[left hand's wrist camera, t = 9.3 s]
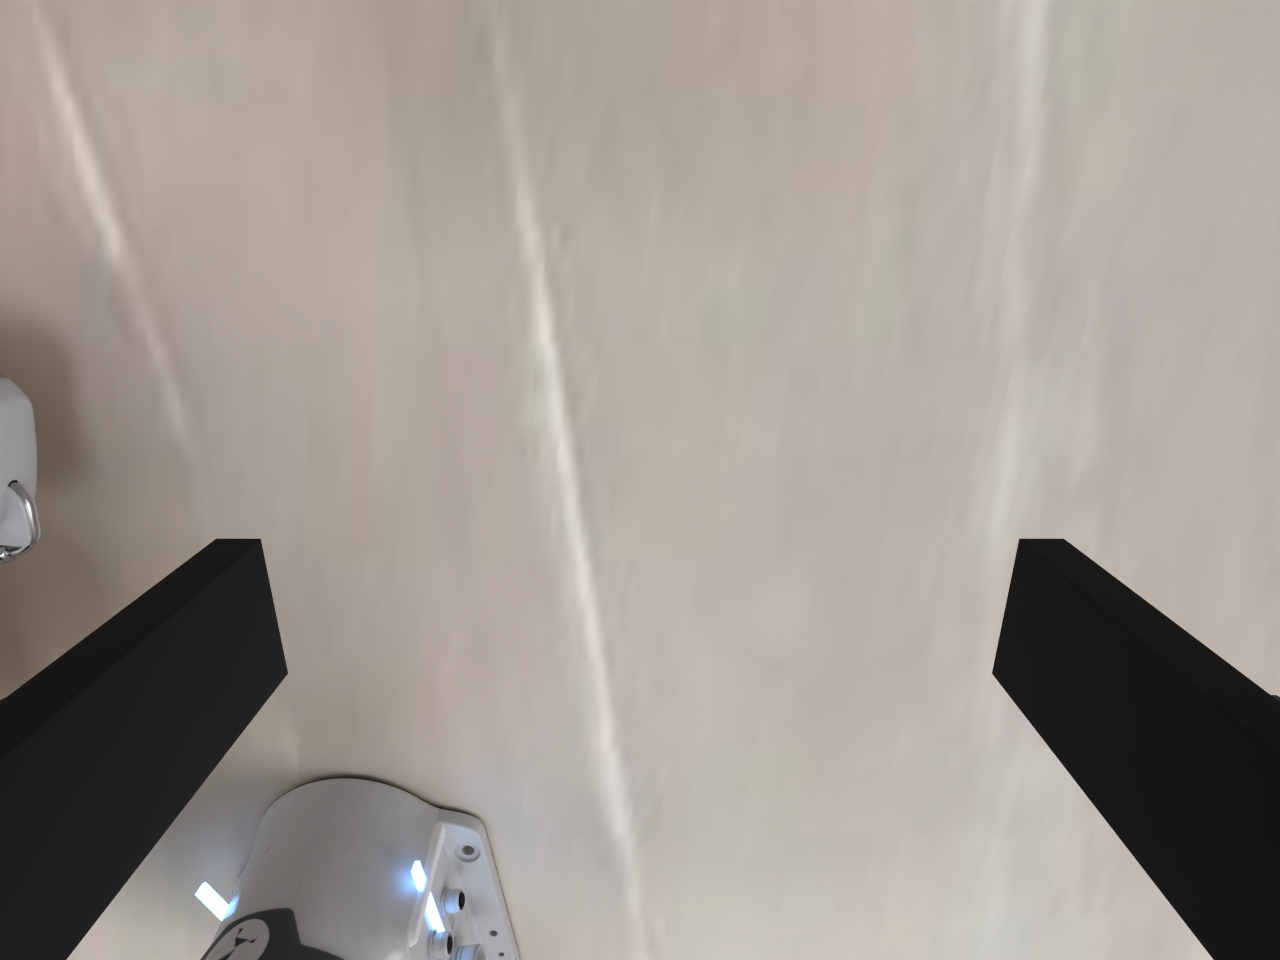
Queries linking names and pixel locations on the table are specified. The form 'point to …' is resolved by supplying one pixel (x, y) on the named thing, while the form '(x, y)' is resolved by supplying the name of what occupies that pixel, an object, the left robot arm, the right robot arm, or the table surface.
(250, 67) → the table surface
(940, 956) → the table surface
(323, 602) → the table surface
